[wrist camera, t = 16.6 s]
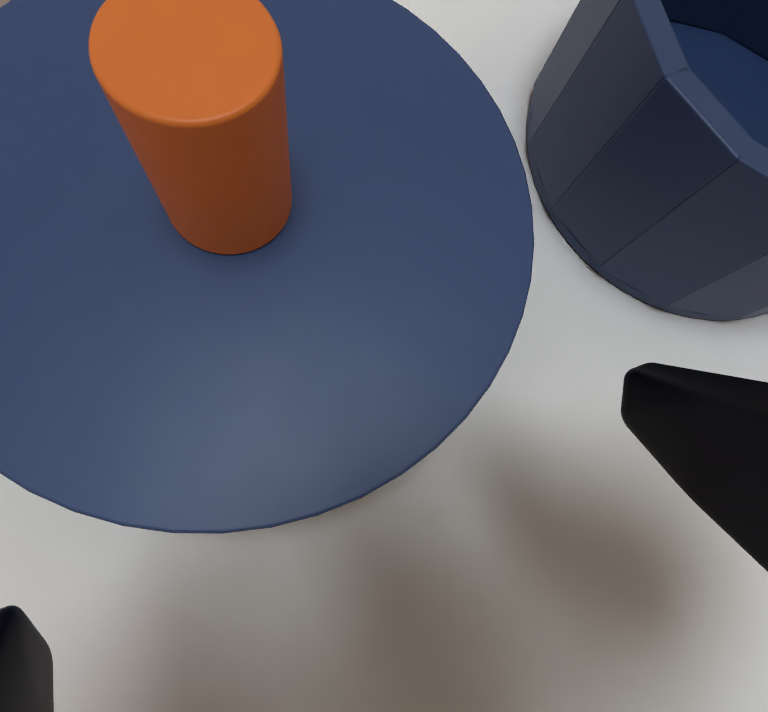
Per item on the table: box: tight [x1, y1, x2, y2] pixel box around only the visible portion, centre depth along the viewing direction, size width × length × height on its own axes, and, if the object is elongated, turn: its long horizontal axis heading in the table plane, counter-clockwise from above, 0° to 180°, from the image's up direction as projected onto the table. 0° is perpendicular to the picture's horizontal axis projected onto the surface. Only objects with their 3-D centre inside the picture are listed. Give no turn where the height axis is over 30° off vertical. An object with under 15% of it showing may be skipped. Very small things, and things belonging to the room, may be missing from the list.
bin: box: [527, 0, 768, 320], centre depth 18 cm, size 14×14×7 cm
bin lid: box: [0, 0, 534, 533], centre depth 11 cm, size 15×15×6 cm
